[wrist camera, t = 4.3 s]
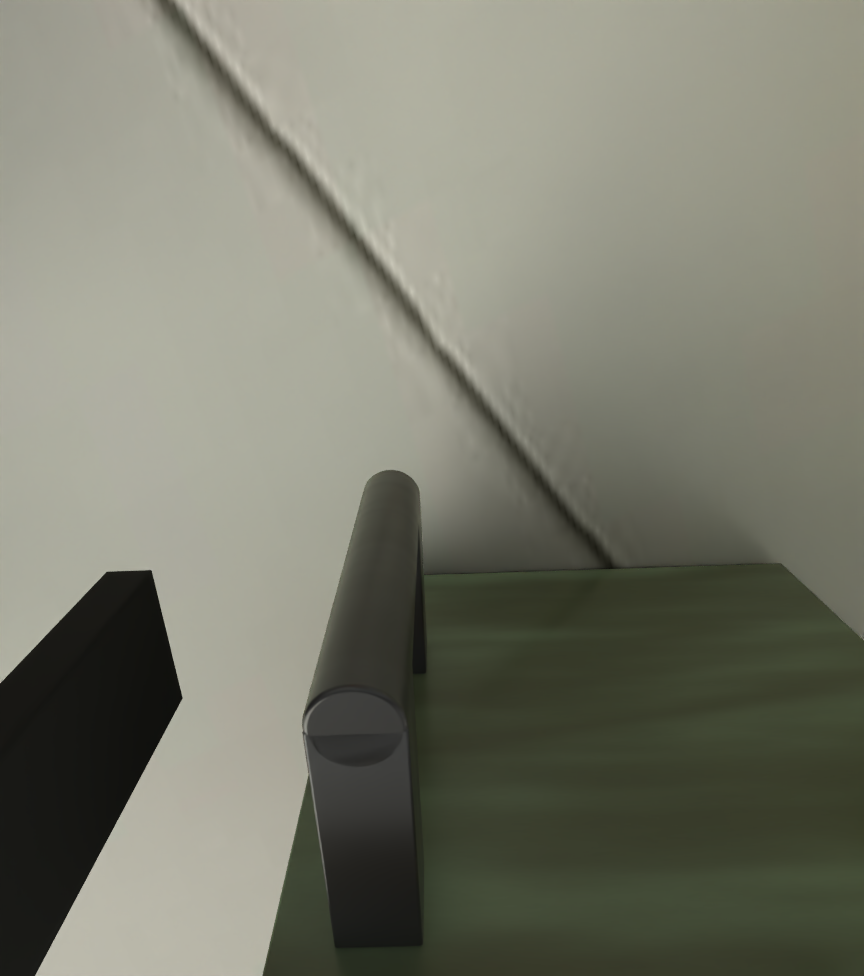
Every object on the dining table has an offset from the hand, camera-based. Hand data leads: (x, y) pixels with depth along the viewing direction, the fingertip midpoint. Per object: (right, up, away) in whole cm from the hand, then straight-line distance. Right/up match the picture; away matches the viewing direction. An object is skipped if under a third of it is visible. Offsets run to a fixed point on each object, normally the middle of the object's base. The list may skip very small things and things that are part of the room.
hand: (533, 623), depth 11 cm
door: (+3, +2, +11) cm, 12 cm away
